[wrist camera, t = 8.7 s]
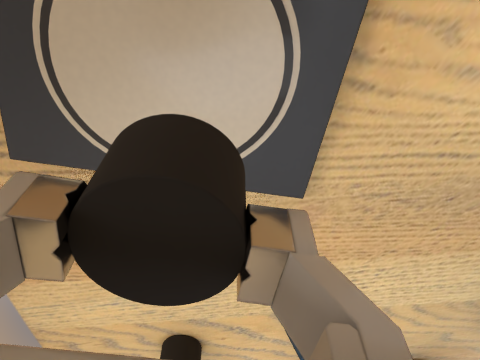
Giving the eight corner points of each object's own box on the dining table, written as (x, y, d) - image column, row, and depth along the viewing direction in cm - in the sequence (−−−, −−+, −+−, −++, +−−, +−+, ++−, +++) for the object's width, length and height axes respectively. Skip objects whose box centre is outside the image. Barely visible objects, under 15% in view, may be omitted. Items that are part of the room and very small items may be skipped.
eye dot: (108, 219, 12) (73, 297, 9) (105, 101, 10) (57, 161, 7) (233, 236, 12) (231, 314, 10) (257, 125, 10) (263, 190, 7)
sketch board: (16, 151, 25) (7, 161, 24) (-41, -157, 17) (-60, -164, 15) (301, 191, 27) (303, 201, 26) (384, -67, 19) (393, -67, 17)
